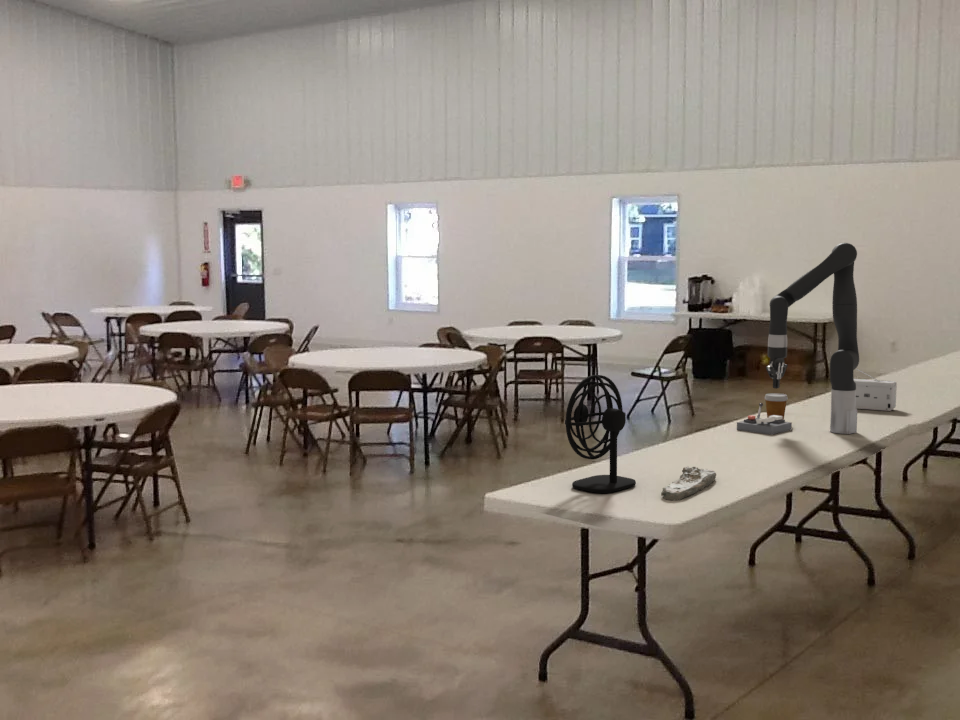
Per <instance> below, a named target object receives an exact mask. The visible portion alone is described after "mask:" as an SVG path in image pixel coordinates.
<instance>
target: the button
mask: <svg viewBox="0 0 960 720" xmlns="http://www.w3.org/2000/svg"><path fill="white" fill-rule="evenodd" d="M755 418H756V415H752V414H751V415H747V419H750V420H754V419H755Z"/></svg>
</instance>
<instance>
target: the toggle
mask: <svg viewBox="0 0 960 720" xmlns="http://www.w3.org/2000/svg"><path fill="white" fill-rule="evenodd" d="M758 405H759V407H758V411H757V416H756V418H758V419H759V418H761V417H760V416H761V413H762V409H763V406H764V404H763V402H760V403H758Z"/></svg>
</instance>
